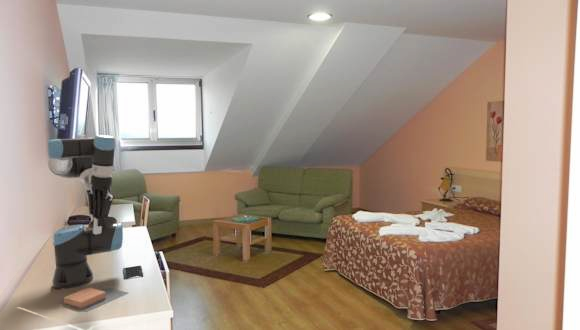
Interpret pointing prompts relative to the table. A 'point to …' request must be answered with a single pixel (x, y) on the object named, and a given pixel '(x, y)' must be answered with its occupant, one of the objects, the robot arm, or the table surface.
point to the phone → (132, 272)
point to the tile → (84, 297)
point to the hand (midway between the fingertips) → (97, 233)
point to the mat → (110, 296)
